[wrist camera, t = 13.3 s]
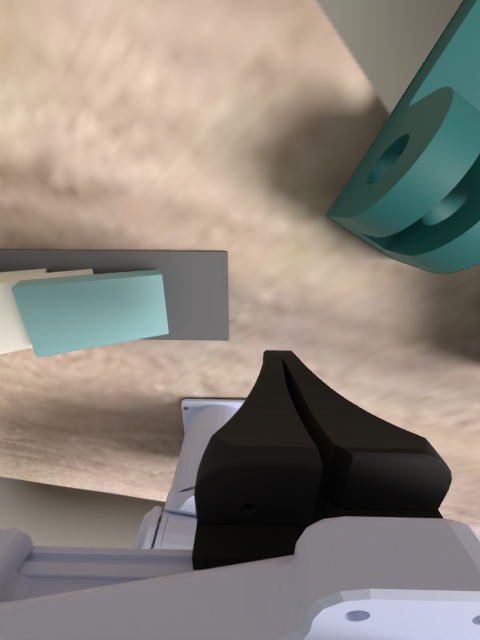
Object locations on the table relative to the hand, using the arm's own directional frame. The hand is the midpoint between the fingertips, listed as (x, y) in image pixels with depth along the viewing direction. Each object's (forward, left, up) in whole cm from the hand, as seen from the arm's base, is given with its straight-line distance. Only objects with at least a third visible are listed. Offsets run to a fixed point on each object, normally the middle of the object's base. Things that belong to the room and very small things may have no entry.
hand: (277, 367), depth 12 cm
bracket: (+13, -12, -11) cm, 21 cm away
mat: (0, +15, -10) cm, 18 cm away
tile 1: (0, +8, -9) cm, 12 cm away
